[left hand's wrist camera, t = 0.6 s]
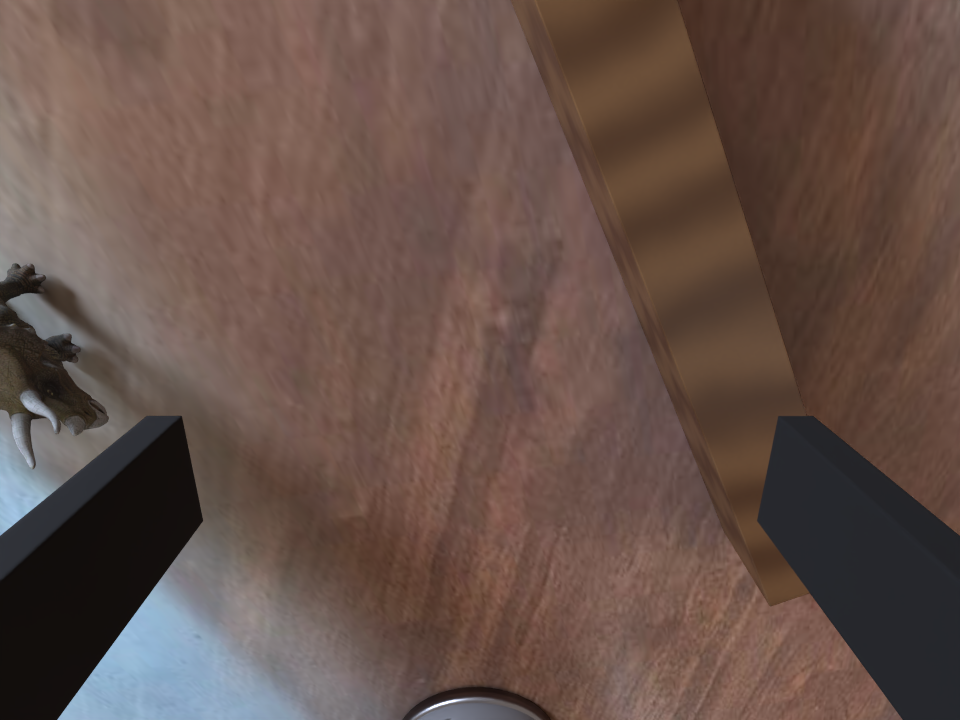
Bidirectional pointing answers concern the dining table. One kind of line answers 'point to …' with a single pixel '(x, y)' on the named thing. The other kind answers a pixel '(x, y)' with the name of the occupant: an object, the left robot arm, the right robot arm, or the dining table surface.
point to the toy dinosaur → (38, 371)
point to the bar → (676, 242)
